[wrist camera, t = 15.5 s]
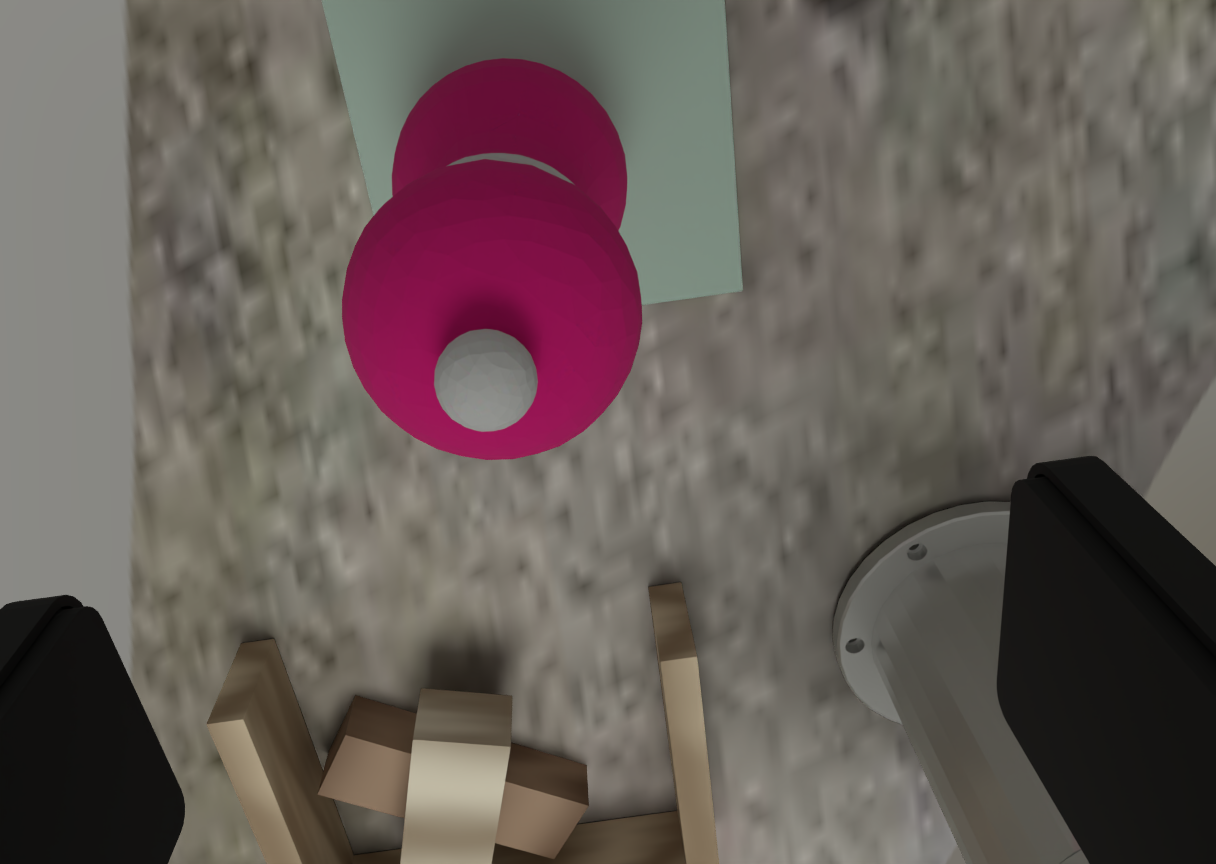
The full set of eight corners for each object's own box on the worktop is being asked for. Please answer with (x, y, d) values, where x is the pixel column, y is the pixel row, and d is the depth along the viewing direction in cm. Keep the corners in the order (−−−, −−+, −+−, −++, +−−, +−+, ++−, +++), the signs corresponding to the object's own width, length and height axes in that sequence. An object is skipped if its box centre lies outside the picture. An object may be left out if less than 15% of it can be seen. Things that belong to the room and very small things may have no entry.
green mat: (715, -98, 31) (718, -98, 30) (740, 286, 37) (742, 291, 36) (314, -41, 31) (311, -41, 30) (404, 333, 37) (403, 338, 36)
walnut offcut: (586, 757, 48) (588, 805, 46) (553, 809, 50) (554, 859, 47) (357, 688, 45) (345, 735, 43) (329, 745, 47) (317, 794, 44)
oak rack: (681, 582, 43) (700, 673, 38) (708, 826, 50) (727, 931, 45) (241, 643, 43) (198, 742, 38) (332, 878, 50) (307, 989, 45)
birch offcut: (483, 878, 48) (480, 934, 45) (401, 873, 47) (393, 930, 44) (512, 695, 42) (510, 746, 40) (420, 688, 42) (413, 739, 39)
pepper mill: (647, 86, 33) (771, 266, 15) (580, 280, 36) (617, 620, 18) (440, 12, 31) (305, 112, 13) (389, 220, 34) (223, 525, 17)
